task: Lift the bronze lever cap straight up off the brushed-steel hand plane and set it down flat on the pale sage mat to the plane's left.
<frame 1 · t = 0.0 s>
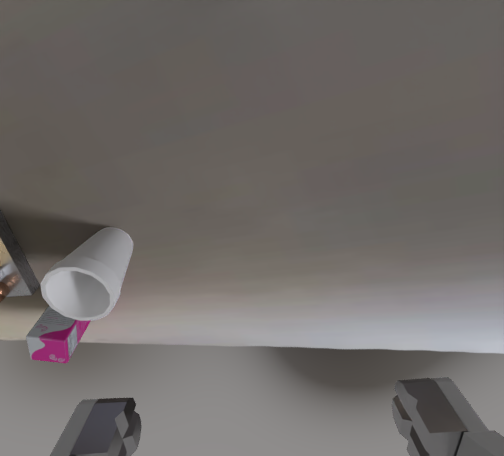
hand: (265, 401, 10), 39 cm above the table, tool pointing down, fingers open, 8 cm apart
foam cup: (114, 242, 52), on the table
supplement box: (80, 299, 58), on the table
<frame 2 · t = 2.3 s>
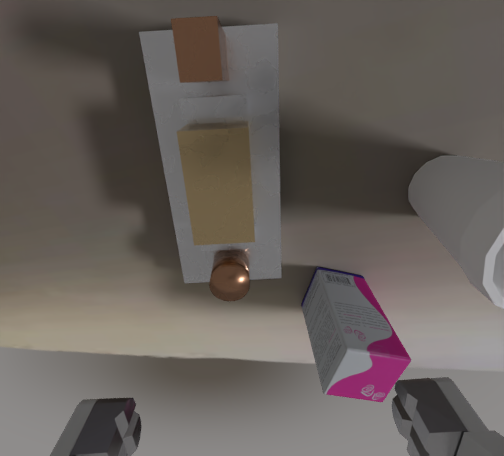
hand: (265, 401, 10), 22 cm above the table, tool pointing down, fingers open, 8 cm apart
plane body: (224, 169, 29), on the table
foam cup: (439, 186, 30), on the table
supplement box: (331, 290, 36), on the table
lever cap: (222, 176, 27), point 2 cm above the table, touching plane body
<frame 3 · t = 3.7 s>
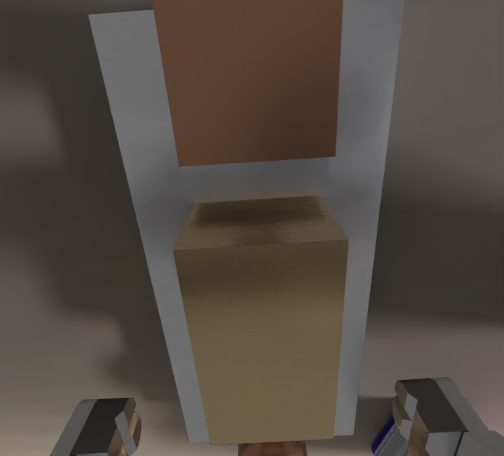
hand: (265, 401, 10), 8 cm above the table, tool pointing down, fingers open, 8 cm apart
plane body: (260, 263, 16), on the table
supplement box: (419, 426, 23), on the table
lever cap: (262, 290, 14), point 2 cm above the table, touching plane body
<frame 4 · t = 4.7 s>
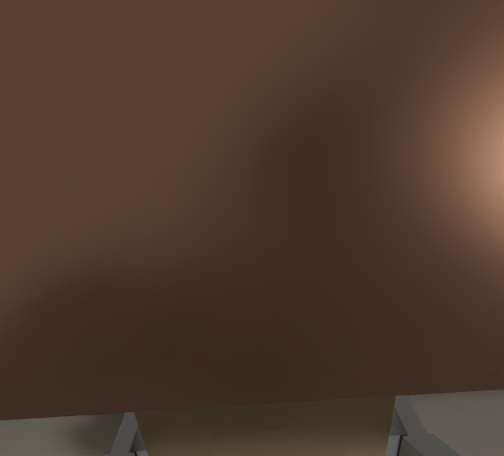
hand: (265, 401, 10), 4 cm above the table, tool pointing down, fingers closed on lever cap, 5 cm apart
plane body: (259, 317, 13), on the table
lever cap: (263, 364, 11), point 2 cm above the table, touching gripper, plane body
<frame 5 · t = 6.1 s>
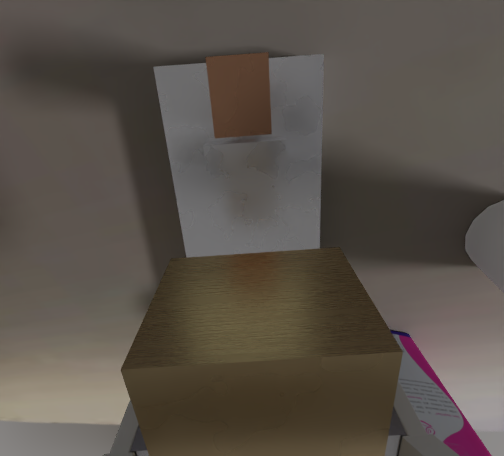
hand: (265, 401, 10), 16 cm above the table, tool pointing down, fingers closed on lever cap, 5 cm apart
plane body: (250, 219, 24), on the table
foam cup: (500, 233, 26), on the table
supplement box: (370, 349, 31), on the table
lever cap: (263, 364, 11), point 15 cm above the table, touching gripper
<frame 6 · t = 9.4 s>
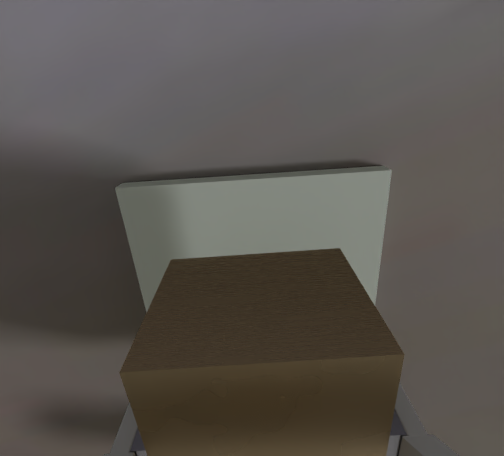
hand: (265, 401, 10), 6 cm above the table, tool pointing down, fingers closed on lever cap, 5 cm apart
sage mat: (259, 283, 15), on the table
lever cap: (263, 365, 11), point 5 cm above the table, touching gripper
when the fingers open (4 cm above the table, at t = 10.2 s): lever cap drops 1 cm, resting on sage mat.
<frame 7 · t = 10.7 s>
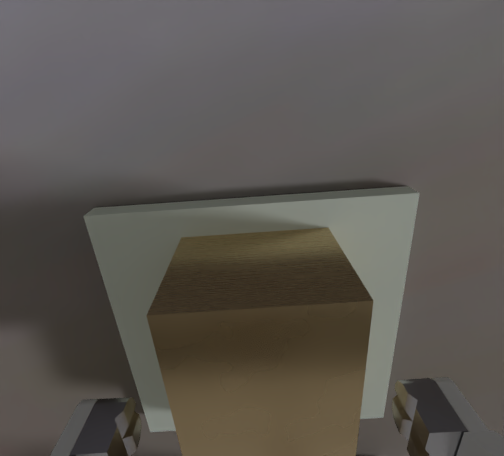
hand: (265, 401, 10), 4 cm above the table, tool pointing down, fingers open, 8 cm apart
sage mat: (259, 321, 13), on the table
lever cap: (261, 334, 12), point 1 cm above the table, touching sage mat
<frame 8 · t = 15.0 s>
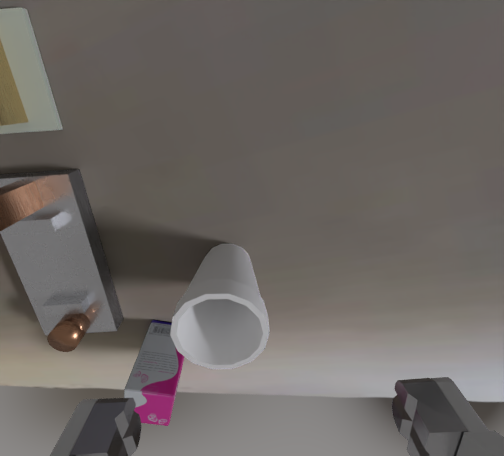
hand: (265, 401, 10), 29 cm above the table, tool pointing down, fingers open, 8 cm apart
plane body: (66, 254, 40), on the table
foam cup: (227, 263, 41), on the table
supplement box: (169, 336, 46), on the table
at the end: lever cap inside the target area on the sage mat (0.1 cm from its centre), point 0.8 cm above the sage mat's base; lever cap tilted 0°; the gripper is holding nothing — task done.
